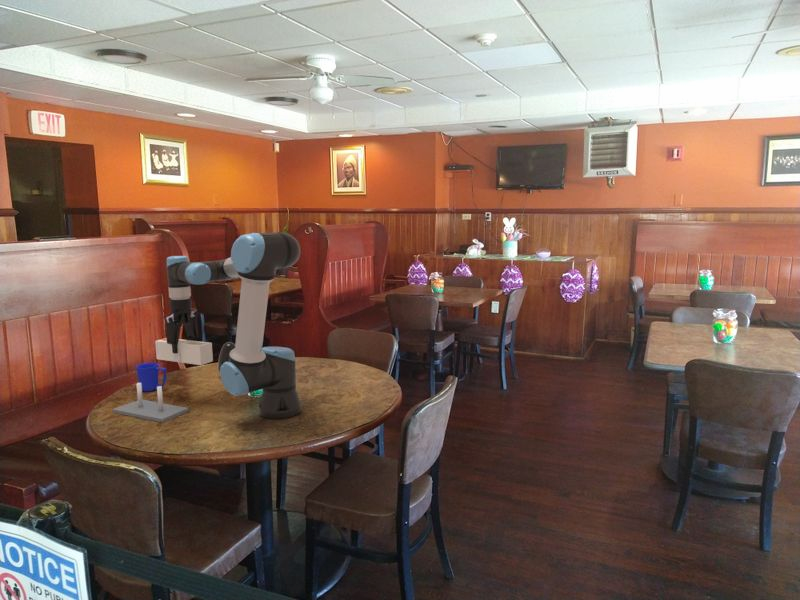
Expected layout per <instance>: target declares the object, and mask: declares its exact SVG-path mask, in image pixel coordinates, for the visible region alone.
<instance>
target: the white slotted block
mask: <svg viewBox="0 0 800 600" xmlns="http://www.w3.org/2000/svg"><path fill="white" fill-rule="evenodd" d="M178 344H180V351H181V362H180V363H181V364H182V363H183V364H190V365H197V366H202V365H206V364H209V363H212V362H214V358H213V357H214V355H213V343H212V342H209V341H198V340H195V341H192V340H189V339H182V338H181V339H180V338H179V341H178ZM155 355H156V360H162V361H168V362H174V353H173V352H172V345H171V344H167V337H164V338H161V339H157V340H155Z"/></svg>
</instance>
